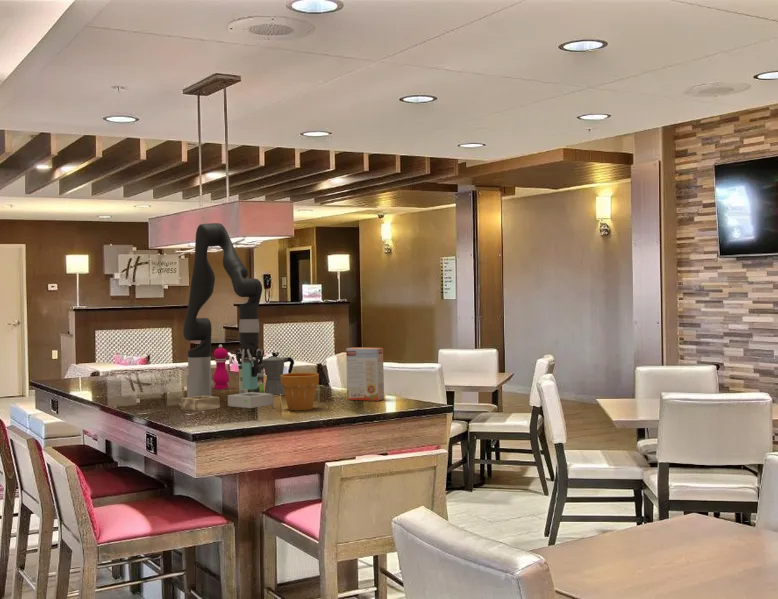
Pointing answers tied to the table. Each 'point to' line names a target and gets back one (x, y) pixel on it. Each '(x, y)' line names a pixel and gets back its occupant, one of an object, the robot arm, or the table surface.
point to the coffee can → (259, 376)
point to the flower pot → (300, 389)
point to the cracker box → (365, 374)
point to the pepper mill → (220, 369)
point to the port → (250, 400)
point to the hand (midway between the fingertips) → (250, 376)
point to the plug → (248, 376)
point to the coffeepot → (275, 373)
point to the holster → (200, 403)
